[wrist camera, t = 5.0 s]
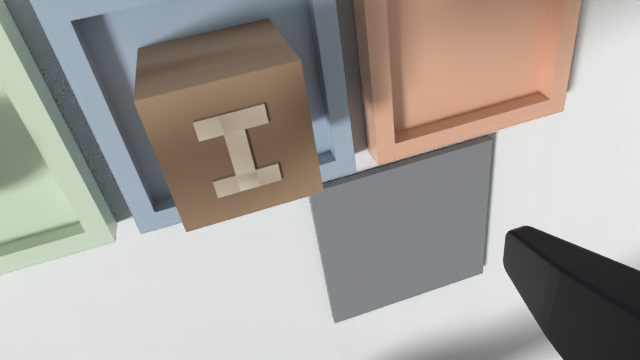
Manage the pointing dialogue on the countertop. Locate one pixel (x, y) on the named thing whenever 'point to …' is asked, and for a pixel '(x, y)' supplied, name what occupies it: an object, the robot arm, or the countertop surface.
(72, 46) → the dish slate
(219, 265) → the countertop surface
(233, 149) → the letter cube
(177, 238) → the countertop surface
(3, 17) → the dish sage
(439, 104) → the dish terracotta
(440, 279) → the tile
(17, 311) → the countertop surface
